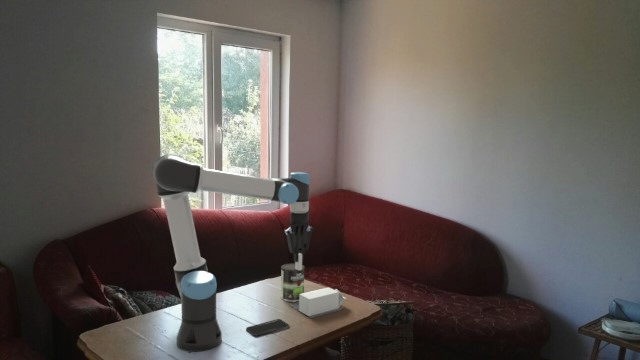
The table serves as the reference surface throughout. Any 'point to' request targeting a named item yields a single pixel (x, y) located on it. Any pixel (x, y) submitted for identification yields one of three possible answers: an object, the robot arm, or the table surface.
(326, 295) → the milk carton
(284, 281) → the coffee can
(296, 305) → the mat
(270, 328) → the phone
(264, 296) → the table surface
